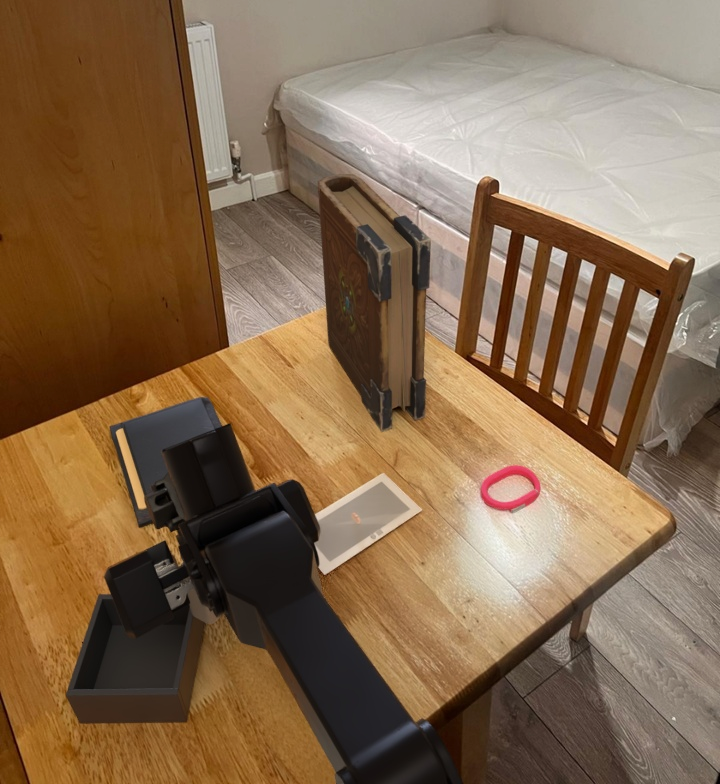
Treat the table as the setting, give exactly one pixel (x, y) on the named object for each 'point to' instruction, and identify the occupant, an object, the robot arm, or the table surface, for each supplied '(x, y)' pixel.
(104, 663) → the open storage box
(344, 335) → the decorative book
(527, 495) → the fitness band
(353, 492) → the white grey flat rectangle
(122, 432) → the wallet
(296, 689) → the robot arm
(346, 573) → the table surface
